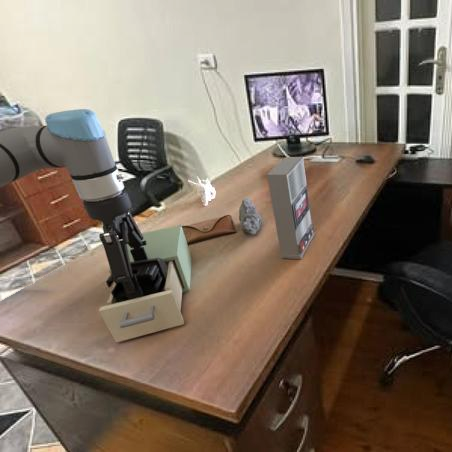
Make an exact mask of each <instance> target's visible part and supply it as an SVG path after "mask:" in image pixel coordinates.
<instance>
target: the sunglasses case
mask: <svg viewBox="0 0 452 452" xmlns="http://www.w3.org/2000/svg"><path fill="white" fill-rule="evenodd" d="M181 226H182V229H183V232H184V235H185V238H186V241H187V244H188V245H192V244H195V243H199V242H200V243H201V242H203V241H207V240H213V239H216V238H221V237H223V236H226V235H230V234H233V233H236V232H237V228H236V225H235V223H234V220H233V217H232V215H231V214H226V215H223V216H220V217H216V218H215V217H214V218H211V219H206V220H202V221H198V222H194V223H191V224H186V225H181Z"/></svg>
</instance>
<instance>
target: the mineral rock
mask: <svg viewBox="0 0 452 452" xmlns="http://www.w3.org/2000/svg"><path fill="white" fill-rule="evenodd" d="M238 220H239V222H240V230H241V231H242V232H244V233H247V234H249V235H251V236H253V235H255V234H257V233H258V232H259V231H260V228H261V226H262V217H261V215H260V214H259V213H258V212H257V209H256V206H255V205H254V202H253V201H252V199H250V197H244V198H243V199H242V200H241V203H240V205H239V209H238Z"/></svg>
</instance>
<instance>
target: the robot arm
mask: <svg viewBox="0 0 452 452" xmlns="http://www.w3.org/2000/svg"><path fill="white" fill-rule="evenodd" d="M44 120H45V123H46V125H33V126H31V125H30V126H8V127H5V128H0V188H2V187H4V186H6V185H8V184H11V183H13V182H15V181H17V180H20V179H22V178H24V177H26V176H29V175H31V174H33V173H36V172H38V171H42V170H46V169H60V168H61V169H62V168H66V170H67V172H68V175H69V176H70V178H71V180H72V183H73V185H74V188H75V190H76V192H77V194H78V197H79V199H80V200H83V201H82V205H83V207H84V209H85V211H86V214H87V216H88V217H89V219H90V220H93V221H99V222H101V223H102V230H103V232H101V233H99V234H98V236H99V237H98V238H99V239H100V242H101V243H102V246H103V249H104V252H105V255H106V259H107V263H108V265H109V270H110V269H111V272H112V276H113V280H114V282H113V283H119V282H121V284H122V286H123V288H124V290H125V293H126V295H127V297H128V299H129V300H132V299H136V298H140V297H144V294H143V292H142V289H141V287H140V285H139V282H138V280H137V278H136V275H135V274H133V273H132V269H131V264H130V259H129V254H128V249H127V244H128V245H129V246H130V247H131V248H134V249H131V250H130V252H131V254H132V257H133V259H134V261H140V260H147V259H148V257H147V254H146V252H145V249H144V247H142V246H145V245H147V243H146V240H145V241H142V240H143V238H144V237H143V235H142V234H141V233H142V232H141V230H140V227H139V226H138V224H137V222H136V221H135V219H134V217H133V215H132V212H131V209H132V206H133V205H132V202H131V200H130V197H129V194H128V192H127V190H125V189H124V188H125V185H124V182H123V179H125V178H124V177H125V175H123V173H120V172H119V169H118V166H117V164H116V162H115V160H114V157H113V154H112V151H111V148H110V145H109V142H108V139H107V137H106V132H105V130H104V128H103V127H102V125H101V123H100V120H99V119H98V116H97V114H96V113H95V112H94V111H92V110H91V109H87V108H79V109H72V110H63V111H56V112H53V113H49V114H47V115H45V119H44ZM122 239H123V240H122Z"/></svg>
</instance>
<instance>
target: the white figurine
mask: <svg viewBox="0 0 452 452" xmlns="http://www.w3.org/2000/svg"><path fill="white" fill-rule="evenodd" d="M196 178H197V183H196V182H194V181H191V180H189V179H188V180H187V183H188V184H189V185H190V186H194V187H196V191H197V197H199V198H200V201H201V203H202V206H203V207H206V206H208V204H209V203H210V202H211V201H212V200H215V198H216V195H217V193H216V188H215V187H213V185H211V181H210V180H209V179H208V178H206V179H202V180H201V179H200V177H199V176H198V175H197V176H196ZM201 181H202V182H205V184H204V183H202V182H201Z"/></svg>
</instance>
